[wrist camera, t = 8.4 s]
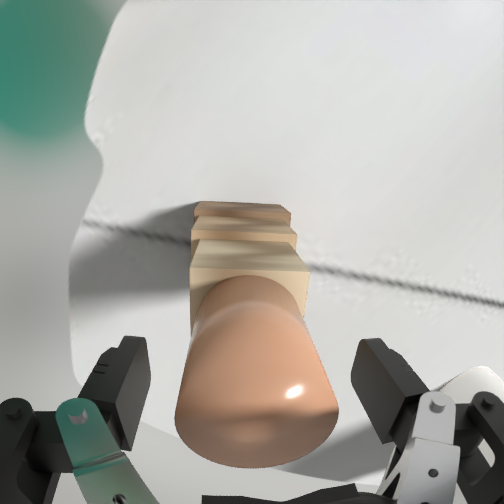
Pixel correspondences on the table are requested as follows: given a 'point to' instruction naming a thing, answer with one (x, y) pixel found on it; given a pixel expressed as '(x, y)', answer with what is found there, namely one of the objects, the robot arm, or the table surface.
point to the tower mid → (241, 230)
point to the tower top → (246, 267)
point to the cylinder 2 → (464, 392)
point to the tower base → (242, 210)
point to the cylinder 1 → (253, 379)
